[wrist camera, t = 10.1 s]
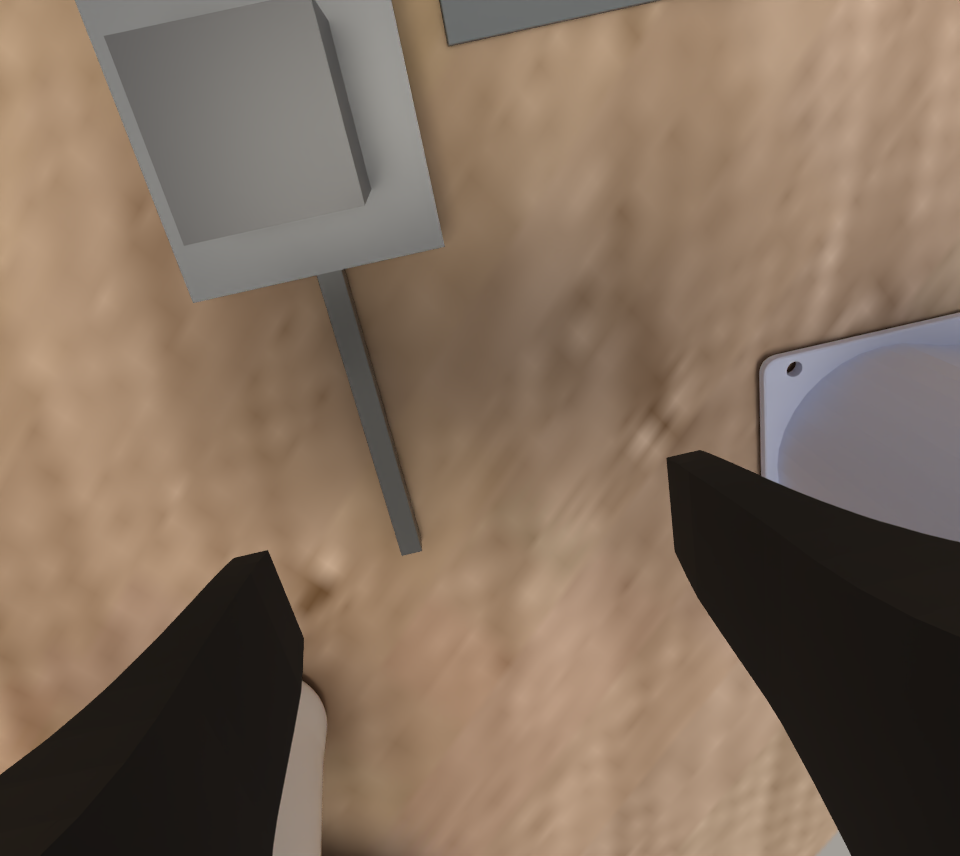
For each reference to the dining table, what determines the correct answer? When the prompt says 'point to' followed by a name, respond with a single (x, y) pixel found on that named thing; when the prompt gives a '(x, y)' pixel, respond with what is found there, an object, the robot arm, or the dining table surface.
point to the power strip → (317, 234)
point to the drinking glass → (303, 782)
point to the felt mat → (516, 15)
